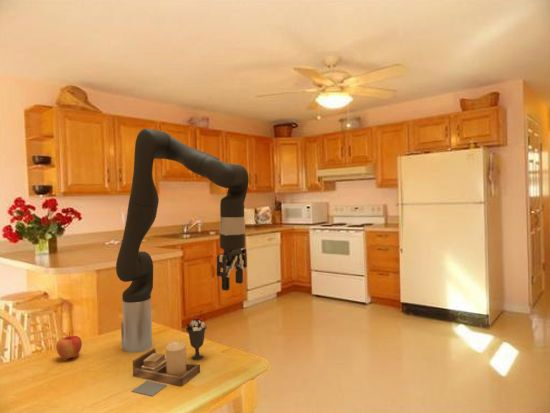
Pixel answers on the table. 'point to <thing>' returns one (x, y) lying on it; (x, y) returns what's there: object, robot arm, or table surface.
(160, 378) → the tray
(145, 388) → the coaster
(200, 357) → the sundae
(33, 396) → the table surface
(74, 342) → the apple
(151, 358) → the offcut upper
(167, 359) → the candle
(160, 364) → the offcut lower
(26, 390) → the table surface
